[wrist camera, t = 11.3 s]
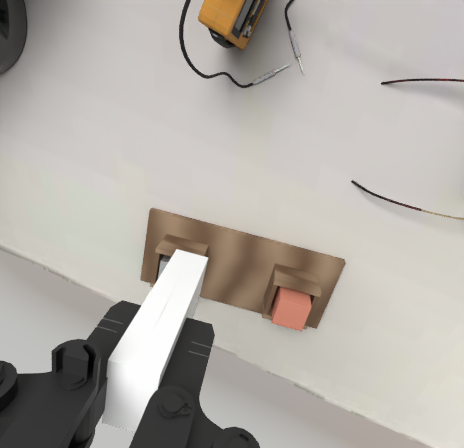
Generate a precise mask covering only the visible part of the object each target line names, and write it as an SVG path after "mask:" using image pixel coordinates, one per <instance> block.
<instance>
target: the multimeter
mask: <svg viewBox="0 0 464 448" xmlns="http://www.w3.org/2000/svg"><path fill="white" fill-rule="evenodd" d="M190 1H191V0H186V2H185V5H184V8H183V11H182V15H181V20H180V25H179V39H180V45H181V50H182V52H183V55H184V58H185V59H186V61H187V63H188V64H189V66H190V67H191V68H192V69H193V70H194V71H195V72H196V73H197V74H198V75H200V76H201V77H203V78H207V79H209V78H213V77H216V76H218V75H227V76H228V77H230V79H231V80H232V81H233V82H234V83H235V84H236V85H238V86H239V87H242V88H245V87H249V86H251V85H254V84H257V83H259V82H261V81H263V80H265V79H267V78H269V77H271V76H273V75H275V73H276V72H278V71H280V70H281V69H283V68H285V67H287V66H289V65H290V64H287V65H285V66H283V67H281V68H280V69H278V70H276V71H274V70H272V71H271V72H269V73H267V74H265V75H263V76H261V77H259V78H257V79H256V80H254V81H253V82H252V83H250V84H248V85H244V86H243V85H240V84H238V83H237V82H236V81H235V80H234V79H233V78H232V77H231V76H230V75H229V74H228V73H226V72H220V73H217V74H214V75H210V76H207V75H204V74H202V73H201V72H199V71H198V70H197V69H196V68H195V67H194V66H193V64H192V63H191V61H190V59H189V58H188V55H187V53H186V50H185V46H184V40H183V25H184V21H185V16H186V12H187V9H188V6H189V4H190ZM292 1H293V0H290V1H289V2H288V4H287V5H286V8H285V17H286V21H287V25H288V28H289V30H290V31H289V33H290V38H291V41H292V45H293V48H294V51H295V55H296V56H295V57H298V60H299V64H300V67H301V70H302V73H303V74H304V71H303V67H302V64H301V61H300V57H299V56H300V55H301V54H300V52H299V49H298V45H297V42H296V39H295V35H294V33H293V31H292V29H291V27H290V24H289V20H288V16H287V8H288V6H289V5H290V4H291V2H292ZM266 3H267V0H204V3H203V5H202V7H201V10H200V13H199V16H198V20H199V22H201V23H202V24H204V25H205V26H206V27H208V29H209V31H210V34H211V36H212V38H213V39H214V41H216V42H217V43H218V44H220V45H221V46H223V47H225V48H231V47H235V46H236V47H238V48H240V49H242V50H243V49H245V47H246V45H247V43H248V41H249V39H250V36H251V34H252V32H253V30H254V28H255V26H256V24H257V22H258V20H259V17H260V15H261V13H262V11H263V9H264V7H265V5H266Z"/></svg>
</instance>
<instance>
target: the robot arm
mask: <svg viewBox="0 0 464 448" xmlns="http://www.w3.org/2000/svg"><path fill="white" fill-rule="evenodd" d="M26 27H27V22H26V11H25V6H24V1H23V0H0V73H2V72H4V71H6V70H7V69H9V68H10V67H11V66H12V65H13V64H14V63H15V62H16V60H17V59H18V57H19V55H20V54H21V51H22V49H23V46H24V42H25V38H26ZM207 261H208V257H204V256H200V255H197V254H193V253H189V252H186V251H182V250H178V249H176V251H175V253H174V254H173V256H172V257H171V259H170V261H169V262H168V264H167V265H166V267H165V269H164V270H163V272H162V274H161V275H160V277H159V278H158V280H157V282H156V283H155V285H154V286H153V288H152V290H151V291H150V293H149V294H148V296H147V298H146V299H145V301H144V303H143V304H142V306H141V305H137V304H134V303H130V302H127V301H123V300H122V301H121V302H119V303H117V304H116V305H114V306H112V307H111V308H110V309H109V311H108V312H107V313H106V315H105V316H104V317H103V319H102V320H101V321H100V323H99V324H98V325H97V328H95V329H94V331H93V332H92V333H91V335H90V336H89V337H88V339H87V340H82V339H77V340H70V341H67V342H64V343H62V344H60V345H58V346H57V347H56V348H55V349H54V350H52V371H51V372H47V373H34V374H17V372H16V368H15V367H14V366H13V365H12V364H11V363H7V362H5V361H0V448H89V447H90V445H91V443H92V441H93V438H94V434H95V427H96V425H97V423H98V421H99V419H100V418H101V416H102V414H103V418H102V423H105V424H108V425H112V426H115V427H118V428H122V429H125V430H129V431H132V432H135V435H134V437H133V440H132V442H131V445H130V447H129V448H260V446H259V443H258V442H257V441H256V439H255V438H254V437H253V435H252V434H250V433H249V432H247V431H246V430H244V429H242V428H237V427H230V428H225V429H224V430H223V429H221V428H220V427H219V426H217V425H216V424H214V423H213V422H212V421H210V420H209V419H208V418H207V417H206V416H205V414H204V413H203V411H202V409H201V406H200V402H199V395H200V390H201V386H202V382H203V378H204V374H205V371H206V367H207V363H208V359H209V355H210V351H211V347H212V344H213V340H214V336H215V335H214V331H213V327H212V324H209V323H205V322H202V321H198V320H194V319H192V318H193V315H194V313H195V310H196V307H197V305H198V300H199V296H200V292H201V287H202V283H203V279H204V274H205V270H206V266H207Z"/></svg>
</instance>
